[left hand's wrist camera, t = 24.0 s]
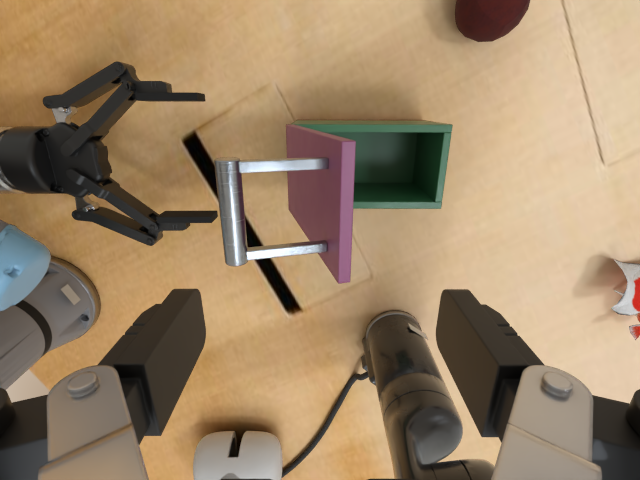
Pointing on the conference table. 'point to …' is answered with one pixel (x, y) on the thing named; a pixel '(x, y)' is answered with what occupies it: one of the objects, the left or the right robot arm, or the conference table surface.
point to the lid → (297, 199)
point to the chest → (394, 160)
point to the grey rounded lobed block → (252, 463)
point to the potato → (488, 17)
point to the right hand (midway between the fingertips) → (208, 160)
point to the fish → (630, 295)
